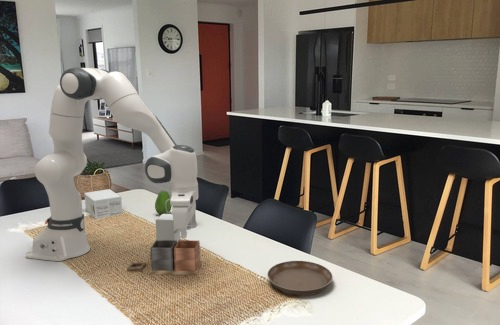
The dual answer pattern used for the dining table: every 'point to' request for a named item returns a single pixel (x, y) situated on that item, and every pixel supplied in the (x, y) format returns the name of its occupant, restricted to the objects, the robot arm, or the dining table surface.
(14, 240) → the dining table surface
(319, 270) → the plant saucer
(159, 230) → the supplement box
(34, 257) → the robot arm
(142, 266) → the ball stand
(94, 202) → the supplement box
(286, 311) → the dining table surface
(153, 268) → the stacked cubby shelf
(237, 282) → the dining table surface
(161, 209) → the avocado
